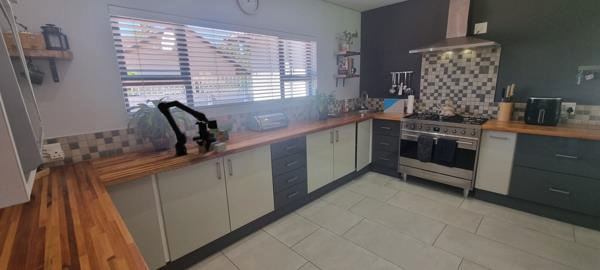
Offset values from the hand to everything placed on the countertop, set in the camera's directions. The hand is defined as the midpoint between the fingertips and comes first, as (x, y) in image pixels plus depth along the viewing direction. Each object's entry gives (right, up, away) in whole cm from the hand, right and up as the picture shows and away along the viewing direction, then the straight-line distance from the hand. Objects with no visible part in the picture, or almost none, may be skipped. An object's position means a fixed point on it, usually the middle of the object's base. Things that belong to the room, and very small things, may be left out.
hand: (205, 150), depth 184 cm
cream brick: (+10, 0, +4) cm, 11 cm away
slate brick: (+4, +1, +9) cm, 10 cm away
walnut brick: (0, -1, 0) cm, 1 cm away
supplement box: (-34, +1, +15) cm, 37 cm away
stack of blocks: (-2, +6, +31) cm, 32 cm away
